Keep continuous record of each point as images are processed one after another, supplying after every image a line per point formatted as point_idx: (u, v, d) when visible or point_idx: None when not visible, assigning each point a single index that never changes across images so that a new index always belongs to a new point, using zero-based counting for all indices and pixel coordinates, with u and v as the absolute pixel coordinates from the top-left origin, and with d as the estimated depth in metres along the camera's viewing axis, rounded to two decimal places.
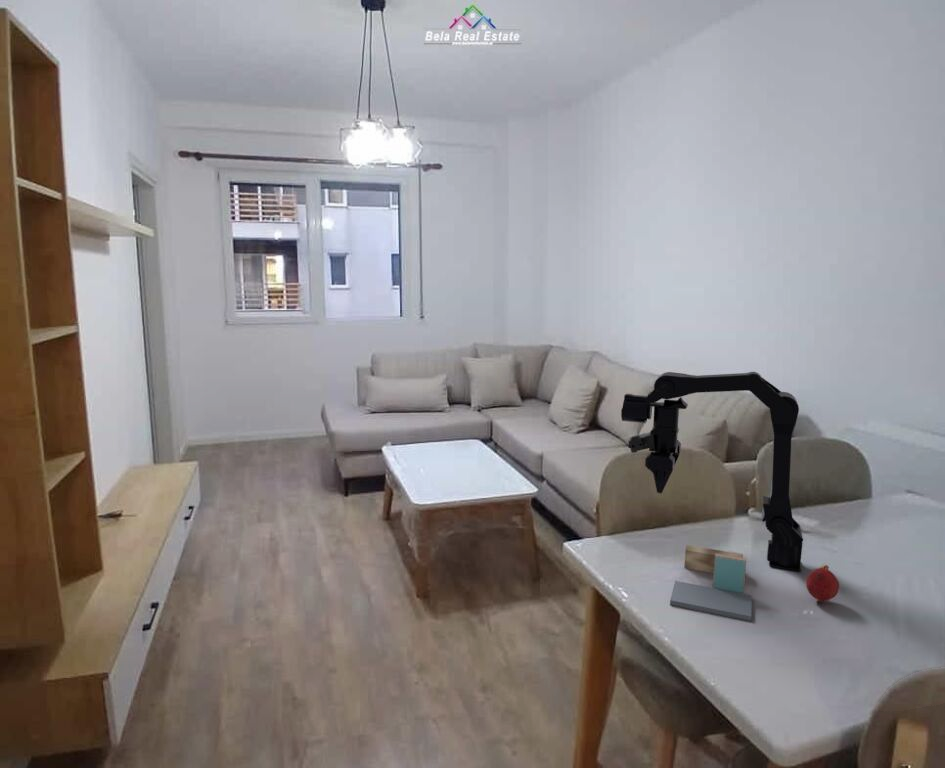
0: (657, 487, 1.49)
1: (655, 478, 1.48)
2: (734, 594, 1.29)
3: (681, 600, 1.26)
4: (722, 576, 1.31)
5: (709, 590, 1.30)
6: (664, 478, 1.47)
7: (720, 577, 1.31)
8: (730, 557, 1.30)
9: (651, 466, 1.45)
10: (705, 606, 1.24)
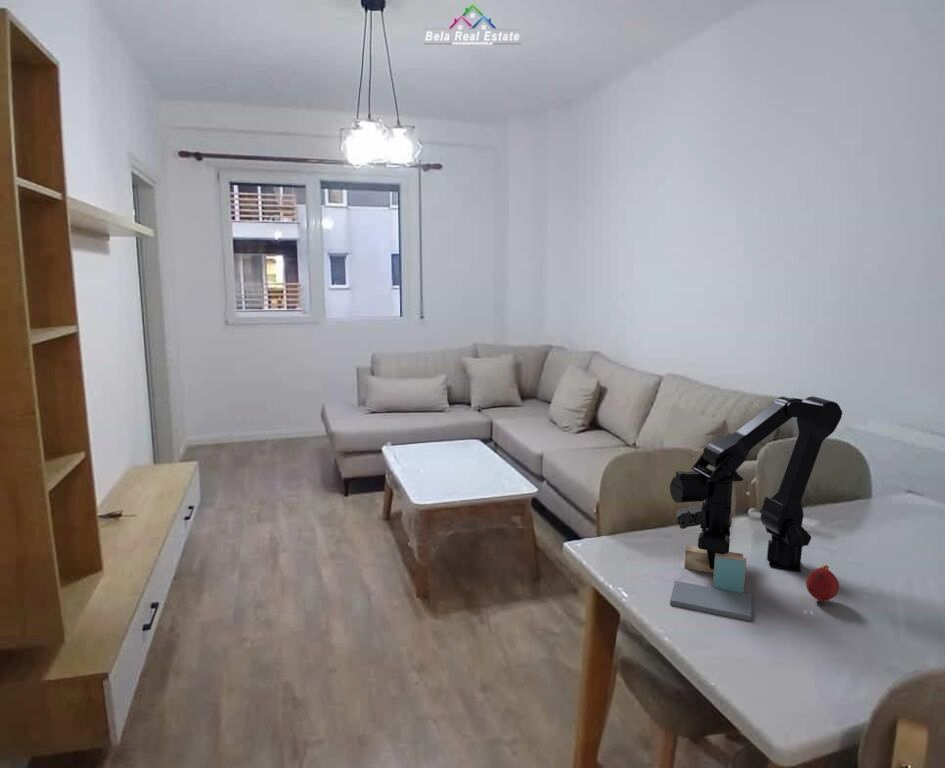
0: (710, 563, 1.40)
1: (708, 554, 1.39)
2: (734, 594, 1.29)
3: (681, 600, 1.26)
4: (722, 576, 1.31)
5: (709, 590, 1.30)
6: None
7: (720, 577, 1.31)
8: (730, 557, 1.30)
9: (705, 548, 1.33)
10: (705, 606, 1.24)
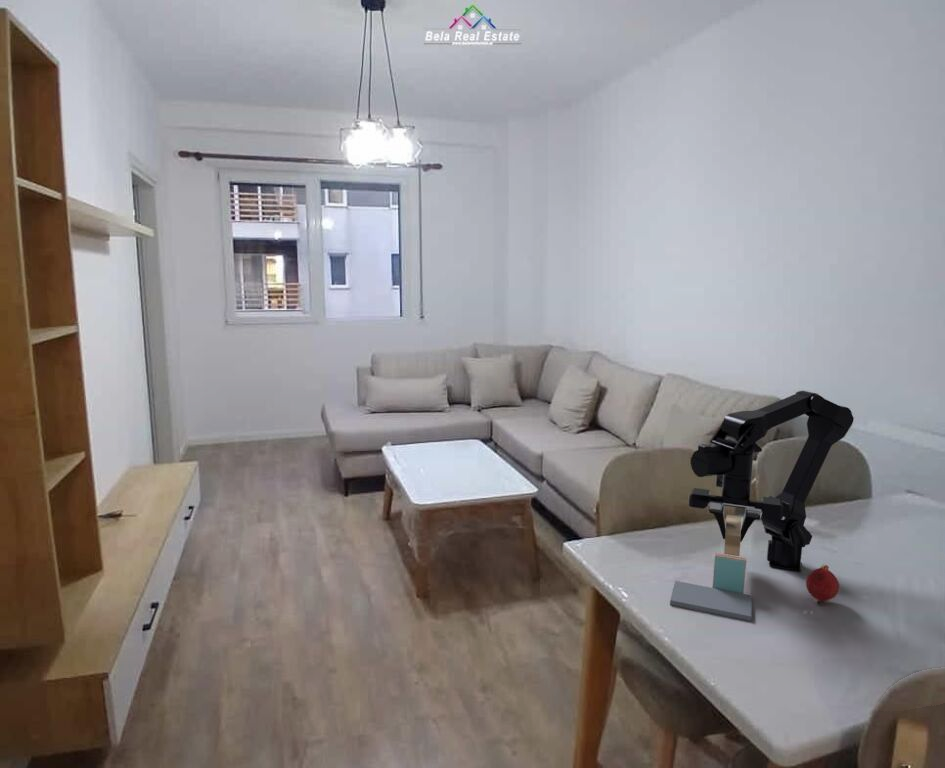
0: None
1: None
2: (734, 594, 1.29)
3: (681, 600, 1.26)
4: (722, 576, 1.31)
5: (709, 590, 1.30)
6: None
7: (720, 577, 1.31)
8: (730, 557, 1.30)
9: None
10: (705, 606, 1.24)
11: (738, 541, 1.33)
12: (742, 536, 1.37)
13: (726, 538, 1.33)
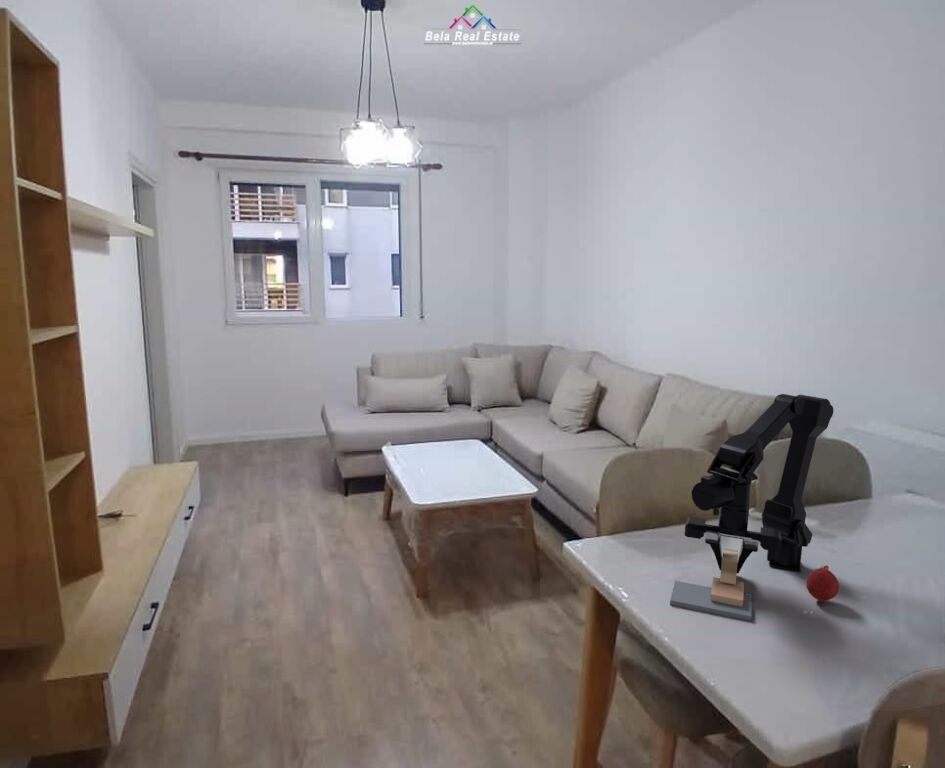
0: None
1: None
2: None
3: (681, 600, 1.26)
4: None
5: (709, 590, 1.30)
6: None
7: None
8: (726, 601, 1.25)
9: None
10: (705, 606, 1.24)
11: (735, 568, 1.29)
12: (739, 568, 1.33)
13: (722, 564, 1.30)
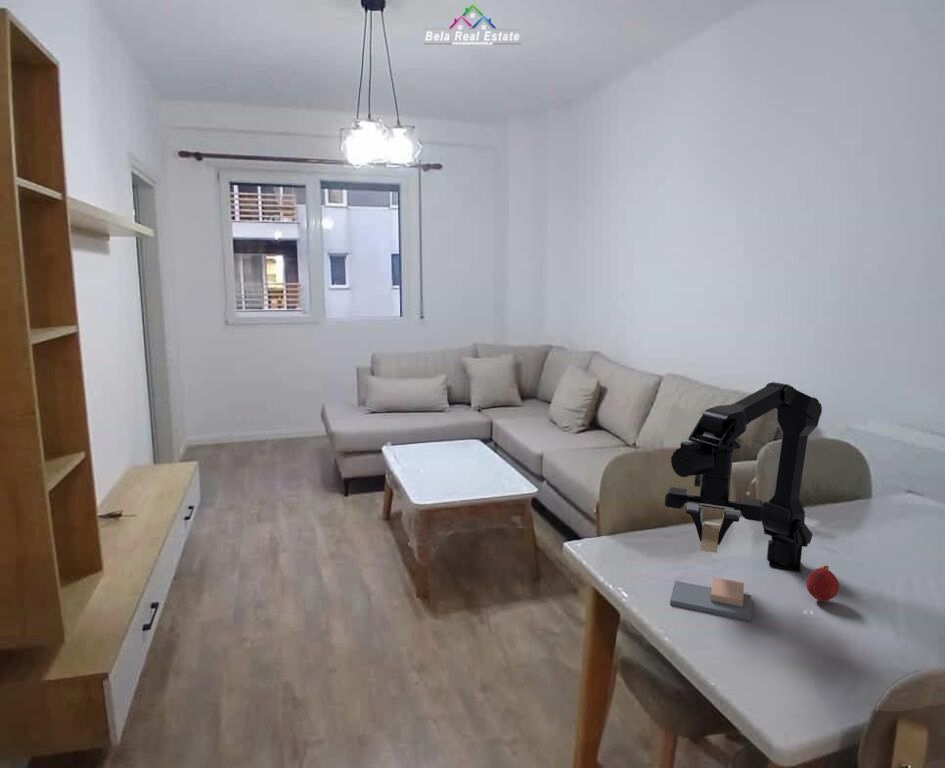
0: None
1: None
2: None
3: (681, 600, 1.26)
4: None
5: (709, 590, 1.30)
6: None
7: None
8: (726, 601, 1.25)
9: None
10: (705, 606, 1.24)
11: (716, 536, 1.25)
12: (720, 539, 1.29)
13: (703, 532, 1.26)
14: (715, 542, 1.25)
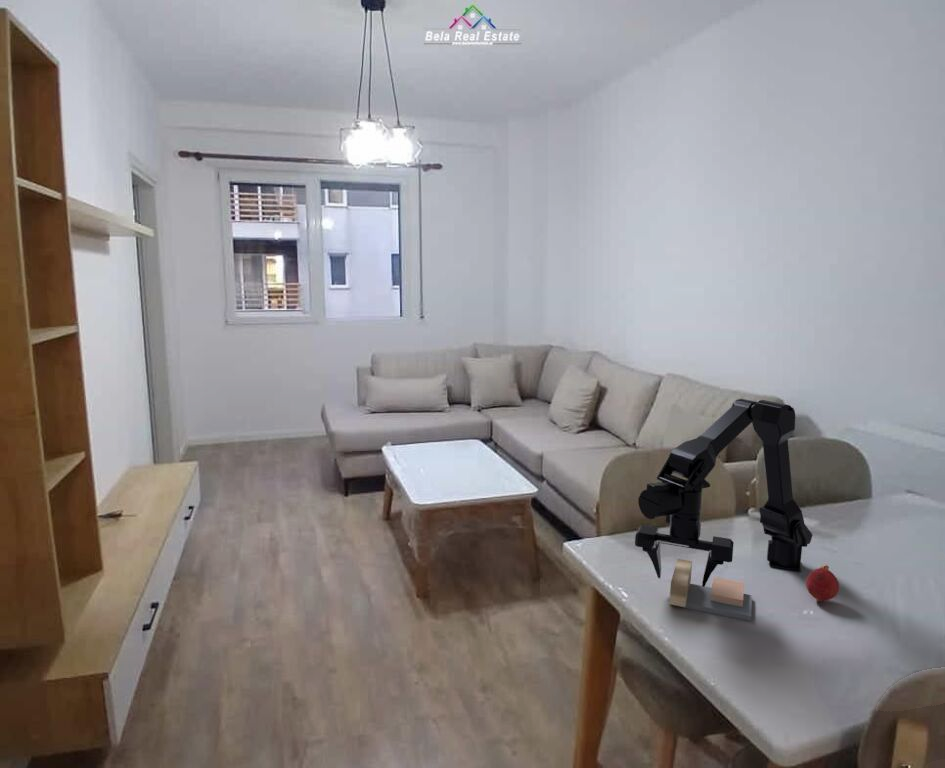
0: None
1: None
2: None
3: None
4: None
5: (709, 590, 1.30)
6: None
7: None
8: (726, 601, 1.25)
9: None
10: (705, 606, 1.24)
11: (684, 591, 1.23)
12: (705, 581, 1.27)
13: (671, 587, 1.24)
14: (683, 597, 1.24)
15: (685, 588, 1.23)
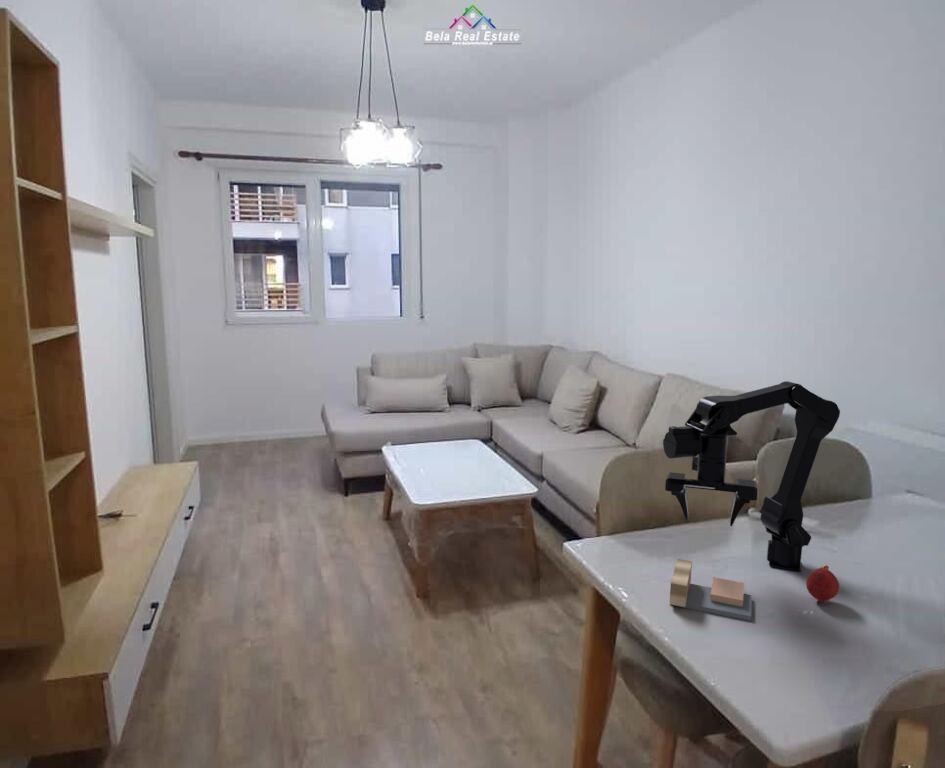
0: None
1: None
2: None
3: None
4: None
5: (709, 590, 1.30)
6: None
7: None
8: (726, 601, 1.25)
9: None
10: (705, 606, 1.24)
11: (684, 591, 1.23)
12: (732, 520, 1.37)
13: (671, 587, 1.24)
14: (683, 597, 1.24)
15: (685, 588, 1.23)
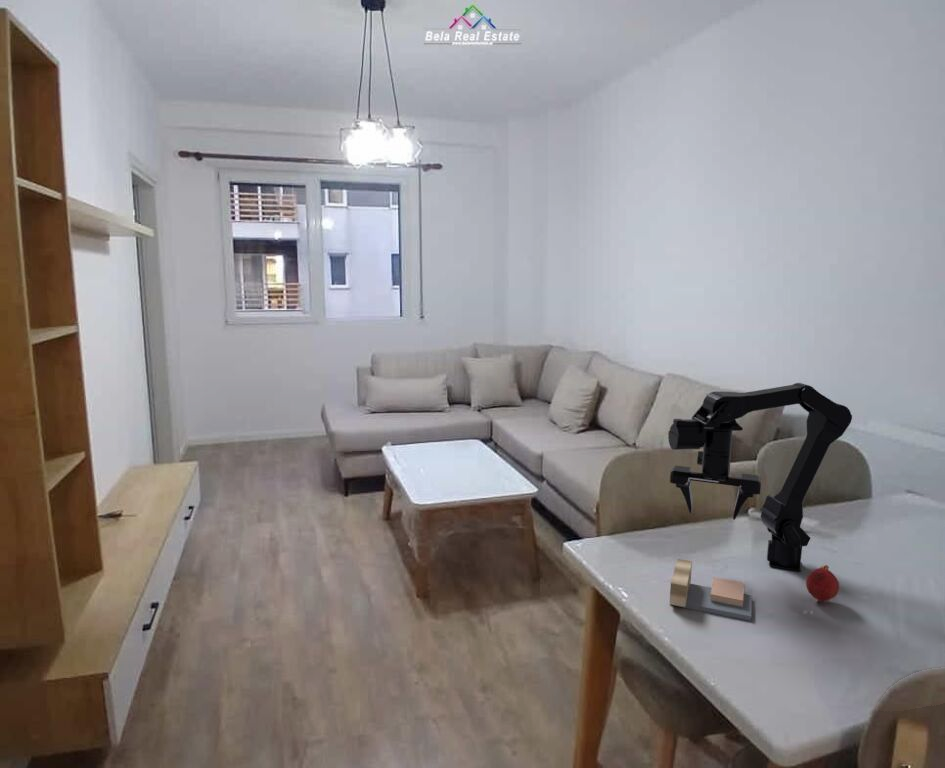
0: None
1: None
2: None
3: None
4: None
5: (709, 590, 1.30)
6: None
7: None
8: (726, 601, 1.25)
9: None
10: (705, 606, 1.24)
11: (684, 591, 1.23)
12: (735, 514, 1.39)
13: (671, 587, 1.24)
14: (683, 597, 1.24)
15: (685, 588, 1.23)
